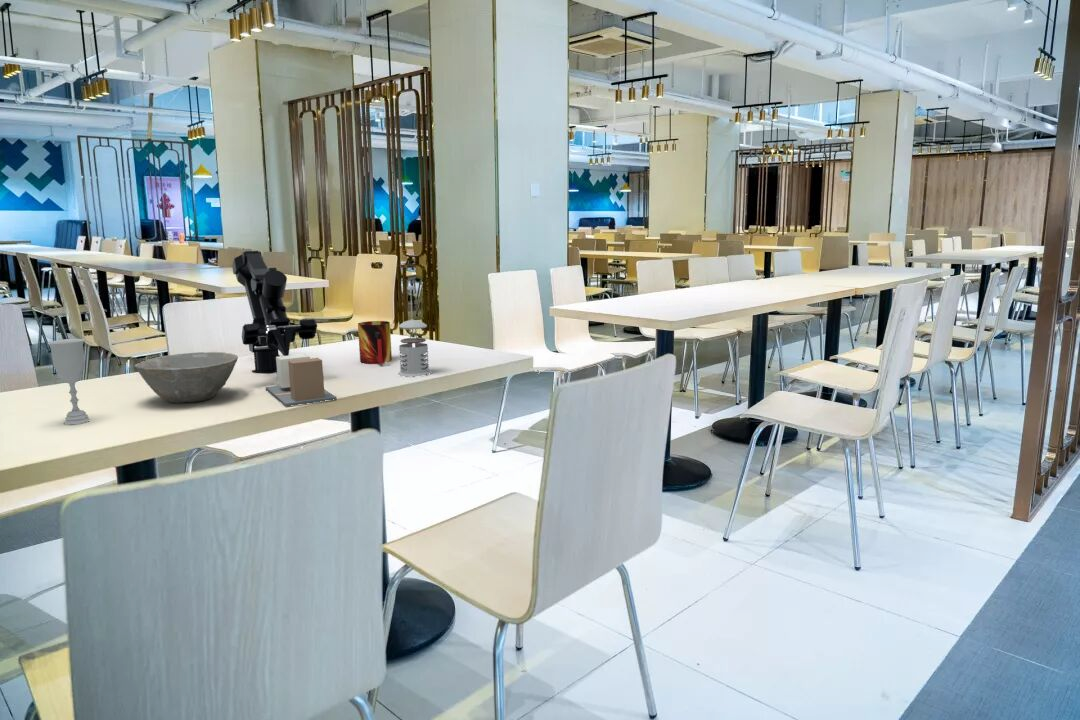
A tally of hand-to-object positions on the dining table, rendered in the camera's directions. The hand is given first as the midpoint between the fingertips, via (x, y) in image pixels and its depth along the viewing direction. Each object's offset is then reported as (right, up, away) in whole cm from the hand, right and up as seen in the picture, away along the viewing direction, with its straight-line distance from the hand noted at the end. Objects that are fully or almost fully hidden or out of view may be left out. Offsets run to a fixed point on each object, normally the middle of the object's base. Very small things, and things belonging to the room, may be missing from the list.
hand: (287, 356), depth 194 cm
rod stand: (+6, -10, -8) cm, 14 cm away
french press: (+31, -5, +17) cm, 35 cm away
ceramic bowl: (-20, -11, -10) cm, 25 cm away
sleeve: (+3, -7, -4) cm, 9 cm away
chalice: (-36, -15, -30) cm, 49 cm away
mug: (+17, -2, +35) cm, 39 cm away
